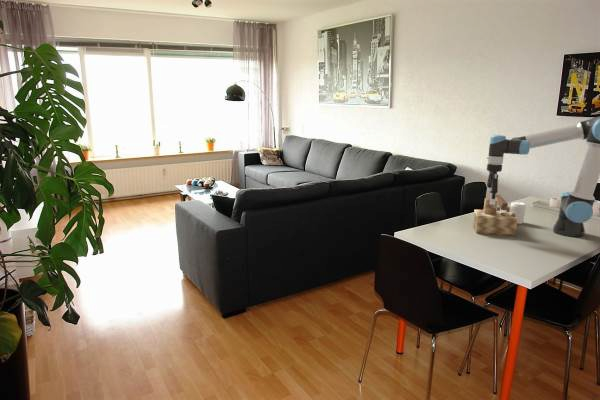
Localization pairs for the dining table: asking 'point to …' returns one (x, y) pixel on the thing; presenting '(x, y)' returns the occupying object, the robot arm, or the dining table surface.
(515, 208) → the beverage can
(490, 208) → the lid
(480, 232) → the wicker basket
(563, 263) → the dining table surface
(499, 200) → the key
